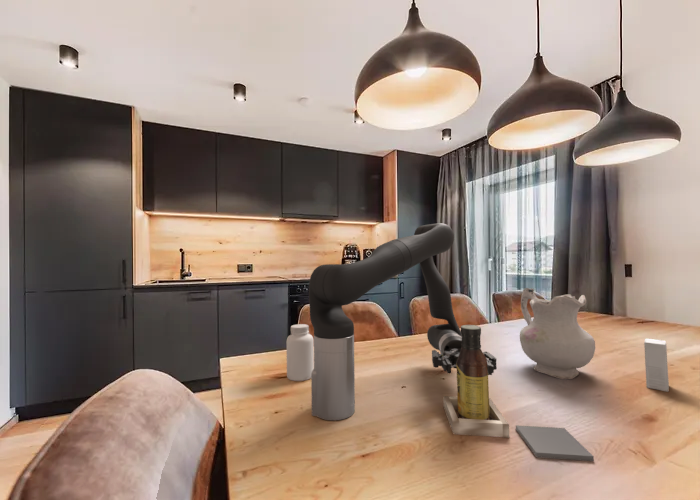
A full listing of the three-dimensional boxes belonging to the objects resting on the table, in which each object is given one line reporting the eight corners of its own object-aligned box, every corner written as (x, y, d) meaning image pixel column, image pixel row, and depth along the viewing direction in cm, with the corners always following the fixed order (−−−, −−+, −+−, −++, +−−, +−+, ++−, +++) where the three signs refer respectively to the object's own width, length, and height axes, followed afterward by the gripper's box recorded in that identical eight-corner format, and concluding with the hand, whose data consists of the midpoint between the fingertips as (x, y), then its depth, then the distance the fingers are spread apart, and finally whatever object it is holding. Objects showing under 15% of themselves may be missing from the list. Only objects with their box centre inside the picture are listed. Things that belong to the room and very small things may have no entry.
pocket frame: (453, 434, 61) (452, 420, 61) (443, 407, 72) (443, 396, 72) (509, 437, 60) (509, 424, 60) (490, 409, 71) (490, 398, 71)
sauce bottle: (464, 410, 70) (461, 322, 71) (493, 419, 66) (490, 325, 67) (453, 422, 65) (450, 326, 66) (484, 432, 61) (481, 330, 62)
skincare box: (646, 381, 87) (644, 337, 87) (668, 385, 84) (666, 340, 84) (645, 387, 82) (643, 341, 83) (669, 392, 79) (666, 344, 80)
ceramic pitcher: (501, 368, 101) (496, 292, 101) (535, 354, 111) (530, 284, 111) (577, 392, 83) (570, 298, 82) (609, 373, 92) (603, 289, 92)
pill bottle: (281, 377, 92) (281, 325, 93) (302, 370, 98) (302, 322, 99) (297, 384, 87) (297, 329, 87) (319, 376, 93) (319, 325, 93)
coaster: (536, 457, 54) (536, 452, 54) (515, 429, 62) (515, 425, 63) (593, 461, 52) (593, 456, 52) (564, 432, 61) (564, 428, 61)
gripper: (427, 334, 85) (436, 351, 69) (482, 336, 84) (503, 353, 67) (428, 362, 85) (436, 385, 69) (482, 364, 83) (504, 388, 67)
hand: (469, 369), depth 68 cm, fingers open, 8 cm apart
